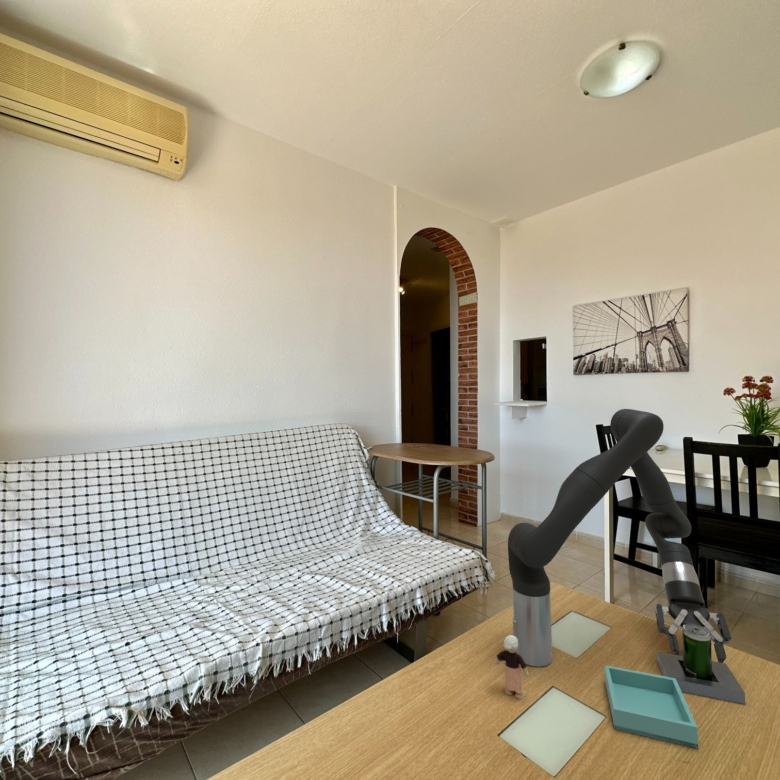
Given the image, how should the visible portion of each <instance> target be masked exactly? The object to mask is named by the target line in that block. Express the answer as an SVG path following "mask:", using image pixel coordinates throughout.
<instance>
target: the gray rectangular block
mask: <svg viewBox="0 0 780 780" xmlns="http://www.w3.org/2000/svg"><path fill="white" fill-rule="evenodd" d="M656 659H657V661H656V662H657V664H658V668H659V669H660V673H661V676H665V677H671V678H676V680H677V683H678V685H679V687H680V689H681V692H682V693H686V694H690V695H695V696H699V697H700V696H701V697H705V698H711V699H714V700H715V699H716V700H720V701H726V702H731V703H736V704H741V705H746V692H745V691H744V689H743V687H742V686H741V684H740V683H739V681H738V680H737V679H736V677H735V676H734V674H733V671H731V669H730V668H729V666H728V664H727V663H726V662H723V663H720V662H718V661H714V660H712V680H713V681H707V680H702V679H696V678H691V677H686V676H685V674H684V671H683V655H680V654H679V655H675V654H674V653H673V654H672V653H666V652H662V651H661V652H660V651H656Z"/></svg>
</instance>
